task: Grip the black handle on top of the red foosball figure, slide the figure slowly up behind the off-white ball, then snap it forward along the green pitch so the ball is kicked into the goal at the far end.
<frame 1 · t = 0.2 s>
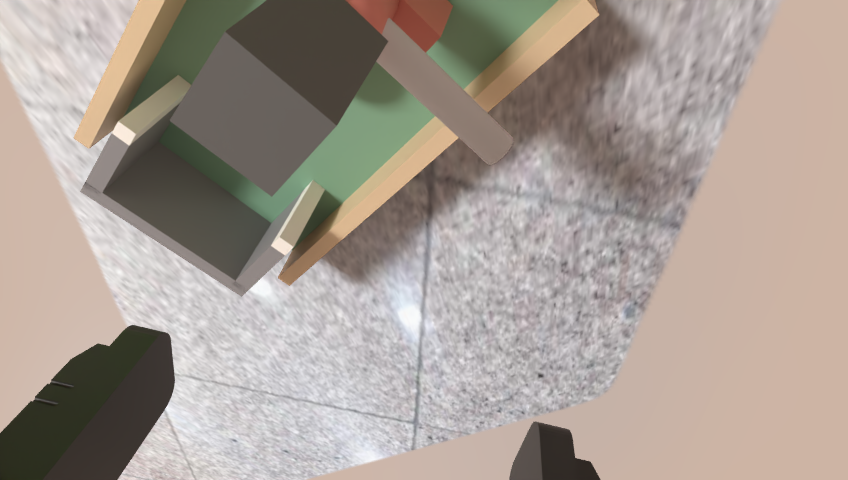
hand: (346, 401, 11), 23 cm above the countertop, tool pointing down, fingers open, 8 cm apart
pitch: (316, 58, 30), on the countertop
striker: (340, 21, 19), point 9 cm above the countertop, slide at 0.0 cm
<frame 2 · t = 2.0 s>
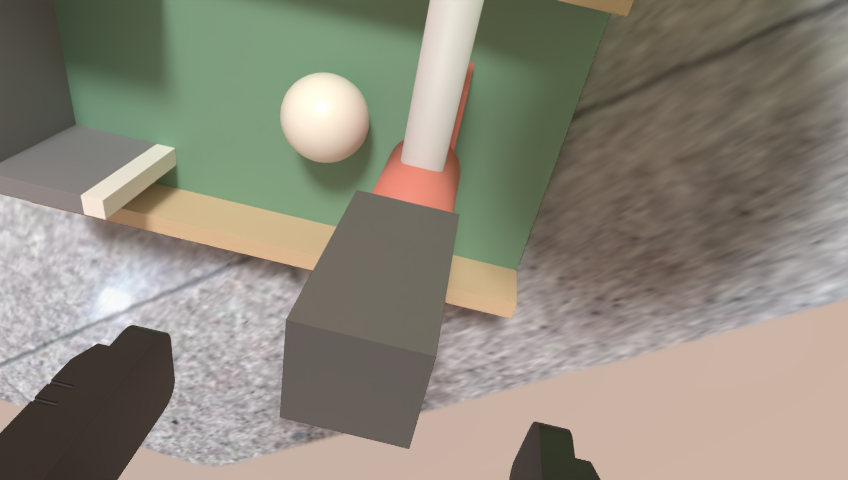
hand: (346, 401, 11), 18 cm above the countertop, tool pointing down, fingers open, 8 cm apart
pitch: (304, 89, 26), on the countertop
striker: (409, 212, 19), point 9 cm above the countertop, slide at 0.0 cm
ball: (325, 118, 24), point 3 cm above the countertop, touching pitch
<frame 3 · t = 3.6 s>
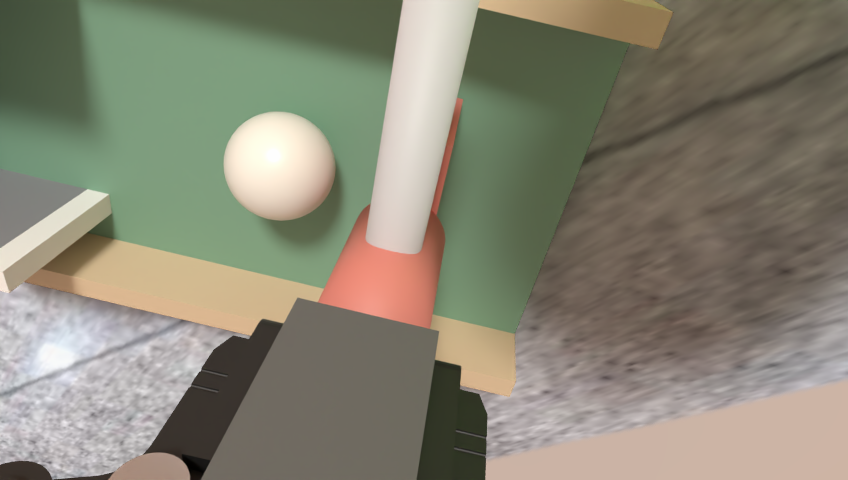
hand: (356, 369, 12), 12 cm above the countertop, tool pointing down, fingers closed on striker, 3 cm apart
pitch: (260, 126, 22), on the countertop
striker: (377, 307, 14), point 9 cm above the countertop, slide at 0.0 cm, touching gripper
ball: (280, 166, 20), point 3 cm above the countertop, touching pitch
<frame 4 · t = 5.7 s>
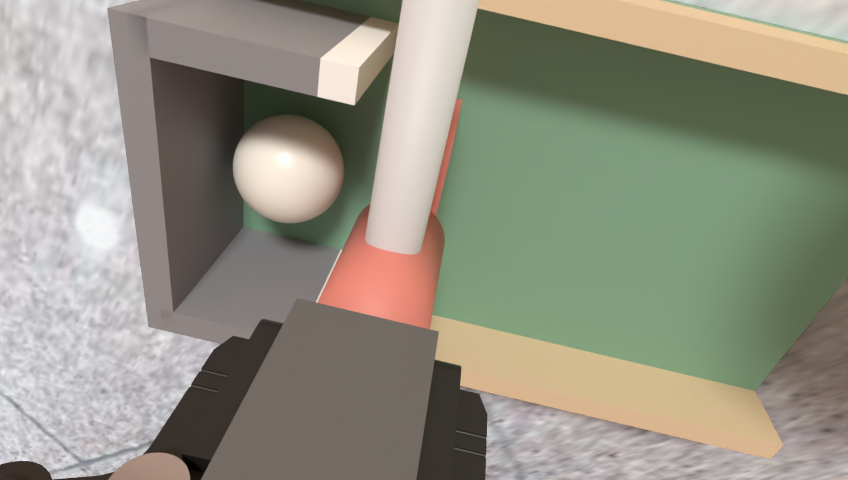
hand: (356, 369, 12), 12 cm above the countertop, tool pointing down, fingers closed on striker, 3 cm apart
pitch: (532, 190, 22), on the countertop
striker: (376, 308, 14), point 9 cm above the countertop, slide at 11.7 cm, touching gripper
ball: (289, 169, 20), point 3 cm above the countertop, tilted 43°, touching pitch
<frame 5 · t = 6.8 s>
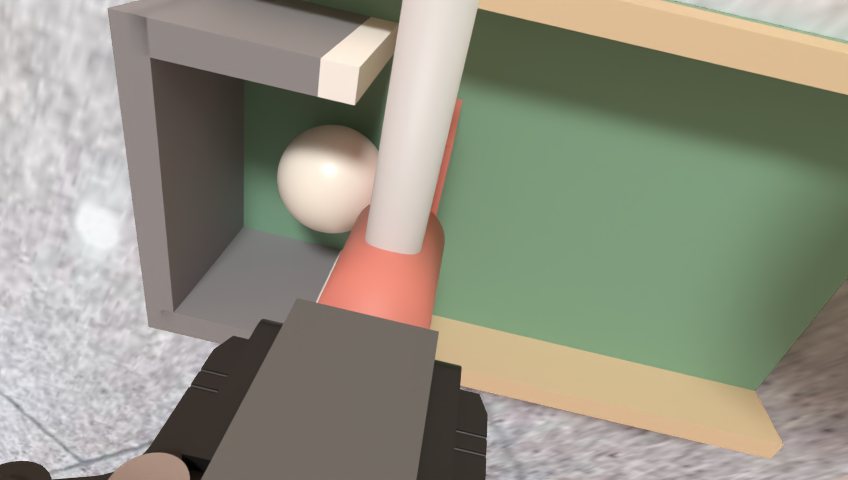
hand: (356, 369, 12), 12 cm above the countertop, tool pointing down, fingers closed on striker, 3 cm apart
pitch: (532, 190, 22), on the countertop
striker: (376, 308, 14), point 9 cm above the countertop, slide at 11.7 cm, touching gripper
ball: (332, 179, 20), point 3 cm above the countertop, tilted 90°, touching pitch
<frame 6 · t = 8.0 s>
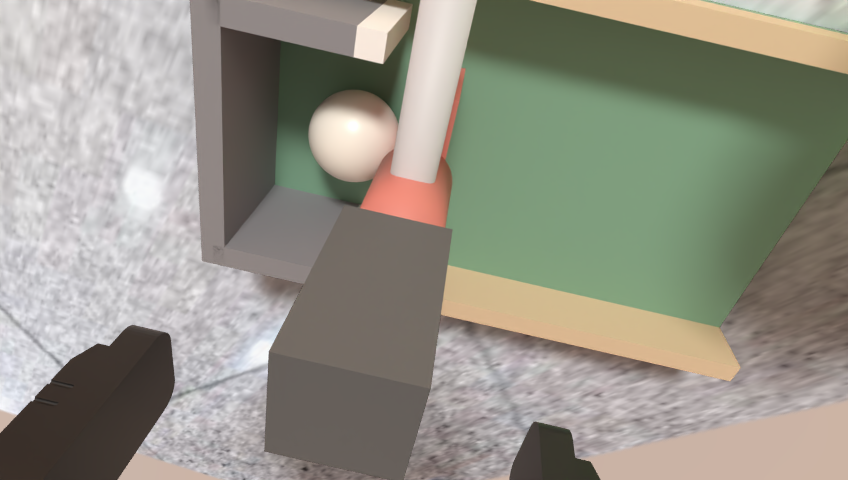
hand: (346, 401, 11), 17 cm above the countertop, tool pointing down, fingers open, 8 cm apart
pitch: (524, 150, 26), on the countertop
striker: (400, 226, 18), point 9 cm above the countertop, slide at 11.7 cm
ball: (354, 136, 23), point 3 cm above the countertop, tilted 88°, touching pitch
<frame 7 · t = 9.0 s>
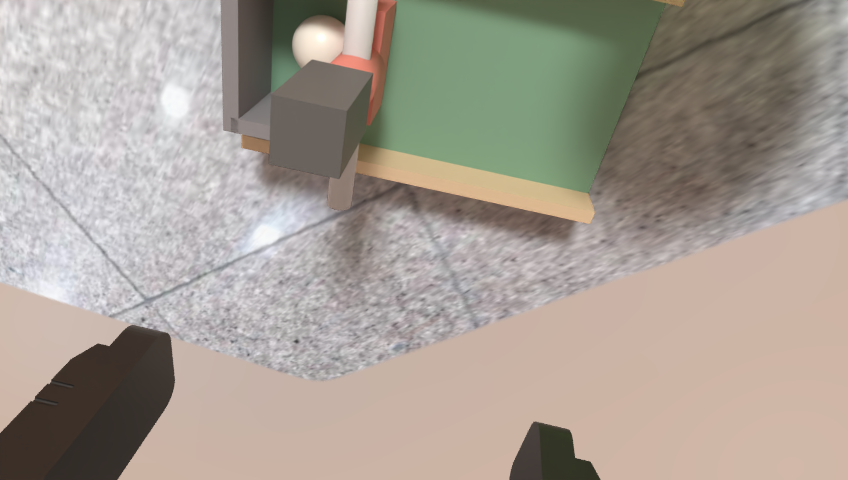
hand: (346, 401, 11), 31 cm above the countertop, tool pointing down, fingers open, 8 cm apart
pitch: (443, 62, 37), on the countertop
striker: (348, 85, 29), point 9 cm above the countertop, slide at 11.7 cm
ball: (323, 47, 35), point 3 cm above the countertop, tilted 86°, touching pitch
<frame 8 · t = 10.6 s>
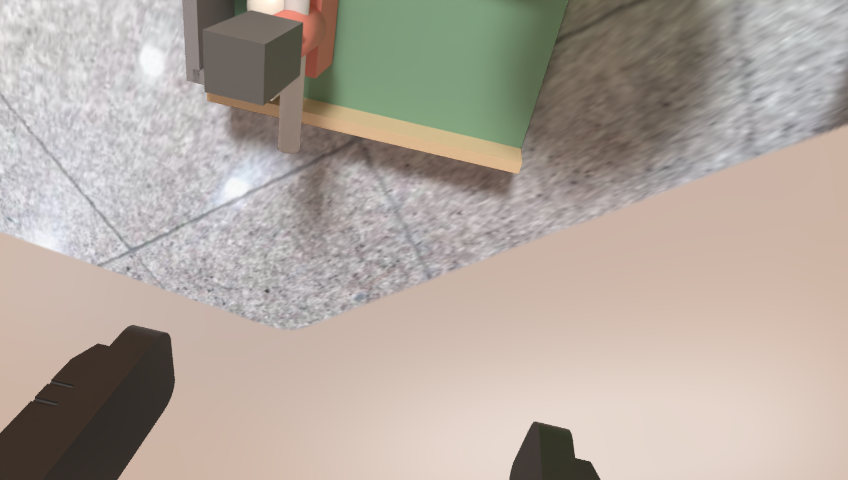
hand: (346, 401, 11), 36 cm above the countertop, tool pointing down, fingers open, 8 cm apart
pitch: (386, 25, 42), on the countertop
striker: (287, 36, 34), point 9 cm above the countertop, slide at 11.7 cm
ball: (275, 8, 39), point 3 cm above the countertop, tilted 83°, touching pitch
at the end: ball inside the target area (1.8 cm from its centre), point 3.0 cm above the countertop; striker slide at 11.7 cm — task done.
